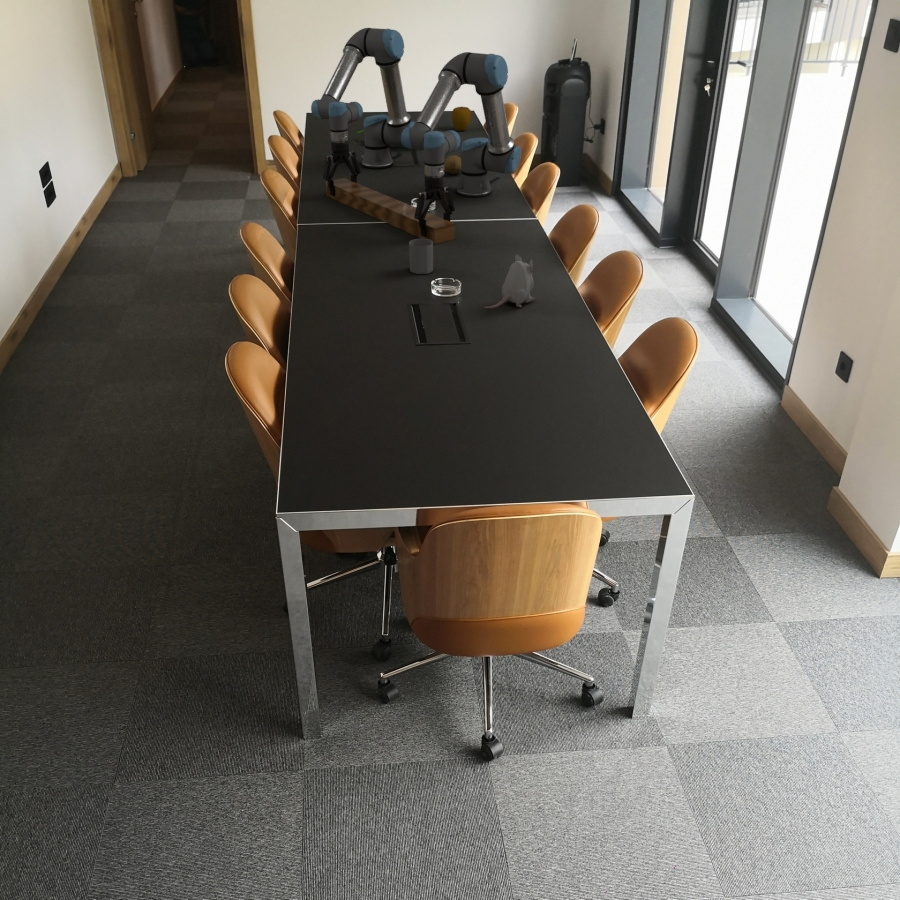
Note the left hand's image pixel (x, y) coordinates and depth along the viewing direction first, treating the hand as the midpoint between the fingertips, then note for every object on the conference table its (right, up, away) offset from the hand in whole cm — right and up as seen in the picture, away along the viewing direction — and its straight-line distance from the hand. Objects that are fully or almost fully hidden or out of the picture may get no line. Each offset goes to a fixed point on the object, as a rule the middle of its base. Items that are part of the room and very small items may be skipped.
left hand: (343, 192), depth 382 cm
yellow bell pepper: (+54, +68, +109) cm, 139 cm away
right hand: (+41, -29, -45) cm, 68 cm away
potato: (+49, +19, +33) cm, 62 cm away
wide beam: (+21, -16, -21) cm, 34 cm away
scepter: (+11, +52, +85) cm, 101 cm away
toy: (+66, -67, -101) cm, 138 cm away
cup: (+37, -49, -73) cm, 96 cm away
